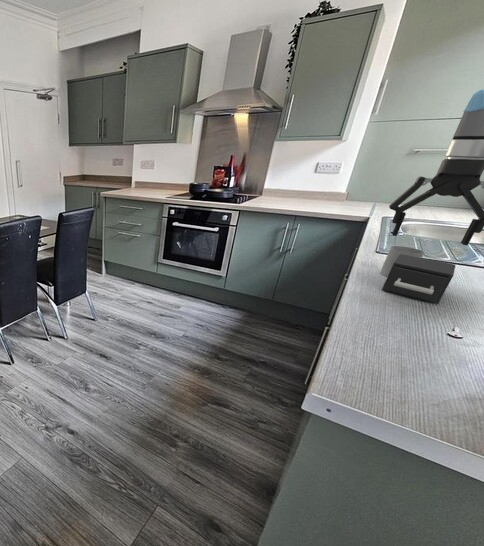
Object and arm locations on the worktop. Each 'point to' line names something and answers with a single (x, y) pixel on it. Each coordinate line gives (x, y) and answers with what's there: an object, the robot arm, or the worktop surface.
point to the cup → (394, 254)
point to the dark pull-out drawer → (416, 283)
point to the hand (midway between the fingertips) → (427, 239)
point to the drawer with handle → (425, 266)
